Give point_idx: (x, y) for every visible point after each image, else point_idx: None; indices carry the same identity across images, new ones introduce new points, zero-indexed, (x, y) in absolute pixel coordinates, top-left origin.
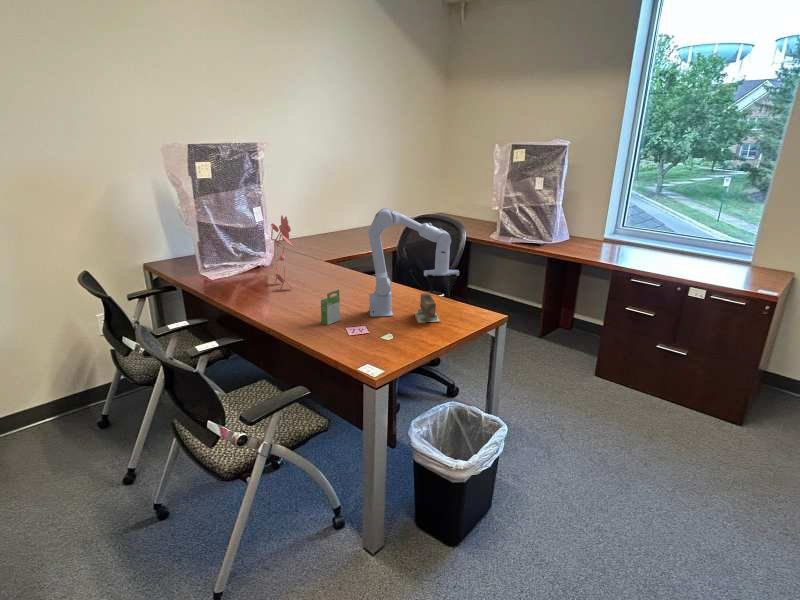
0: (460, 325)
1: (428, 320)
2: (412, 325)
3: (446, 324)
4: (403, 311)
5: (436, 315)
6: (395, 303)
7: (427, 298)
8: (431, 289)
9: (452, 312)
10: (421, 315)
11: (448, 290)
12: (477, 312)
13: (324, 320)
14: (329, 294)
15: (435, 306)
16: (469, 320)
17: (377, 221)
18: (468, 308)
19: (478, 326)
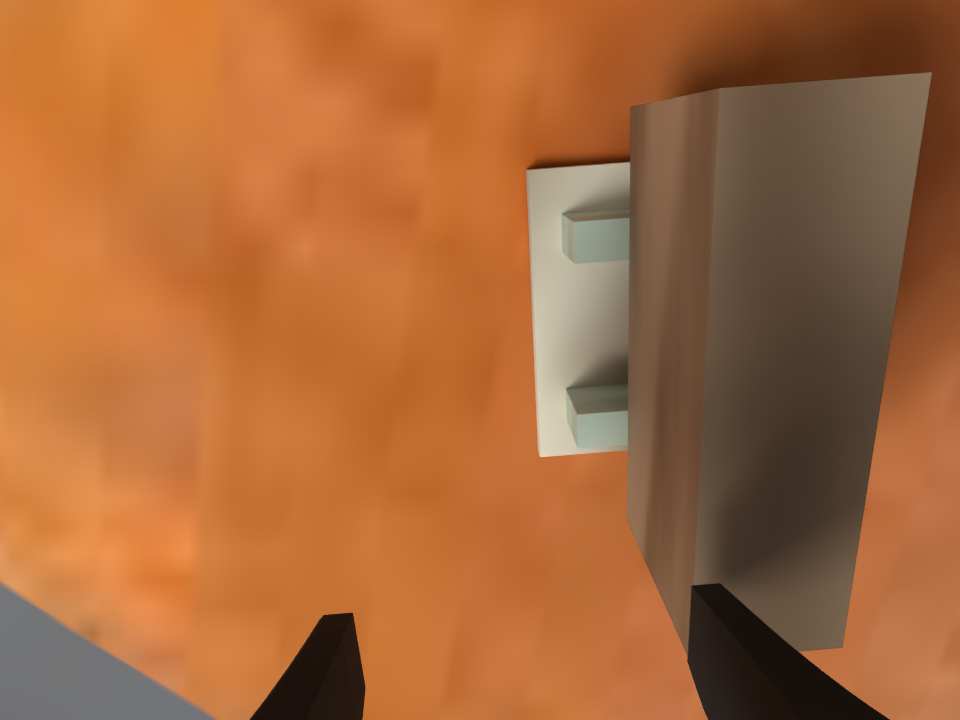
0: (266, 62)
1: None
2: (904, 66)
3: (452, 102)
4: (875, 508)
5: (585, 219)
6: (890, 703)
7: (802, 415)
8: (762, 625)
9: (331, 493)
10: None
11: (356, 678)
12: (33, 499)
13: None
14: None
15: (699, 95)
16: (136, 246)
17: None
18: (138, 606)
19: (12, 21)
